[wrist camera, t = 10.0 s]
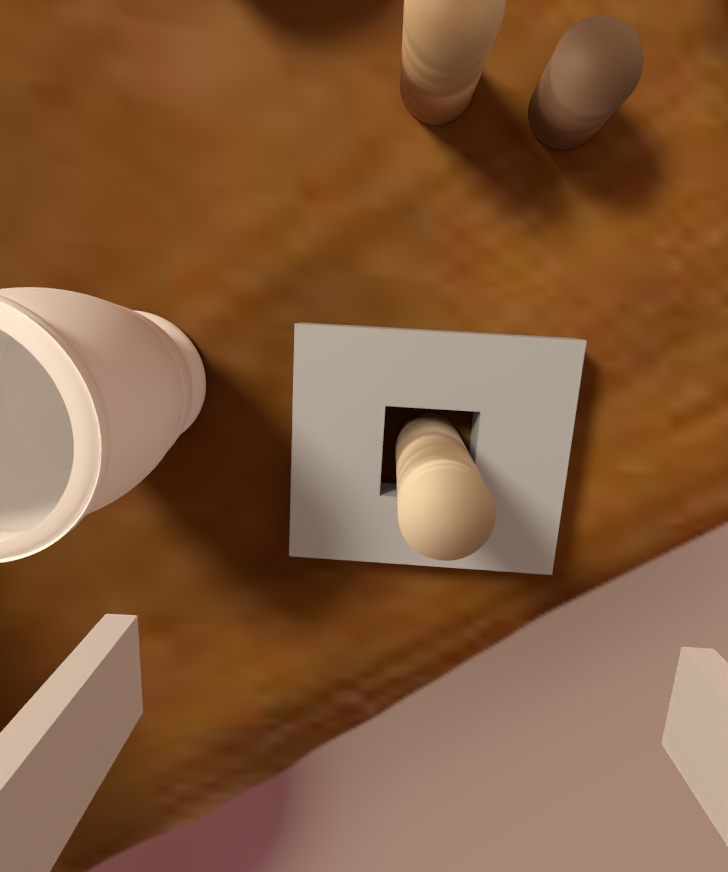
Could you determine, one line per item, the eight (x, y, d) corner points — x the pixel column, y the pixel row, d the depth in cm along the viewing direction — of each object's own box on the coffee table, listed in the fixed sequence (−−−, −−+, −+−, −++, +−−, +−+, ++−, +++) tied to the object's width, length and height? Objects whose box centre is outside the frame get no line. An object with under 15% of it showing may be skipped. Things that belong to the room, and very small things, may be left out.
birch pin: (393, 472, 35) (394, 557, 23) (397, 410, 34) (401, 466, 22) (456, 477, 34) (490, 563, 23) (462, 414, 33) (501, 472, 22)
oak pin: (398, 123, 30) (400, 58, 22) (403, 40, 29) (407, -58, 21) (470, 126, 30) (499, 62, 22) (478, 43, 29) (511, -55, 21)
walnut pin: (543, 162, 30) (568, 129, 25) (517, 90, 29) (538, 42, 24) (615, 129, 29) (655, 88, 24) (590, 54, 29) (626, -3, 24)
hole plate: (295, 539, 36) (289, 556, 33) (301, 322, 33) (294, 323, 30) (540, 556, 35) (551, 574, 33) (571, 337, 32) (586, 340, 30)
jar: (225, 299, 33) (92, 293, 18) (224, 465, 35) (105, 578, 20) (51, 287, 33) (-219, 270, 18) (61, 452, 35) (-170, 554, 21)
